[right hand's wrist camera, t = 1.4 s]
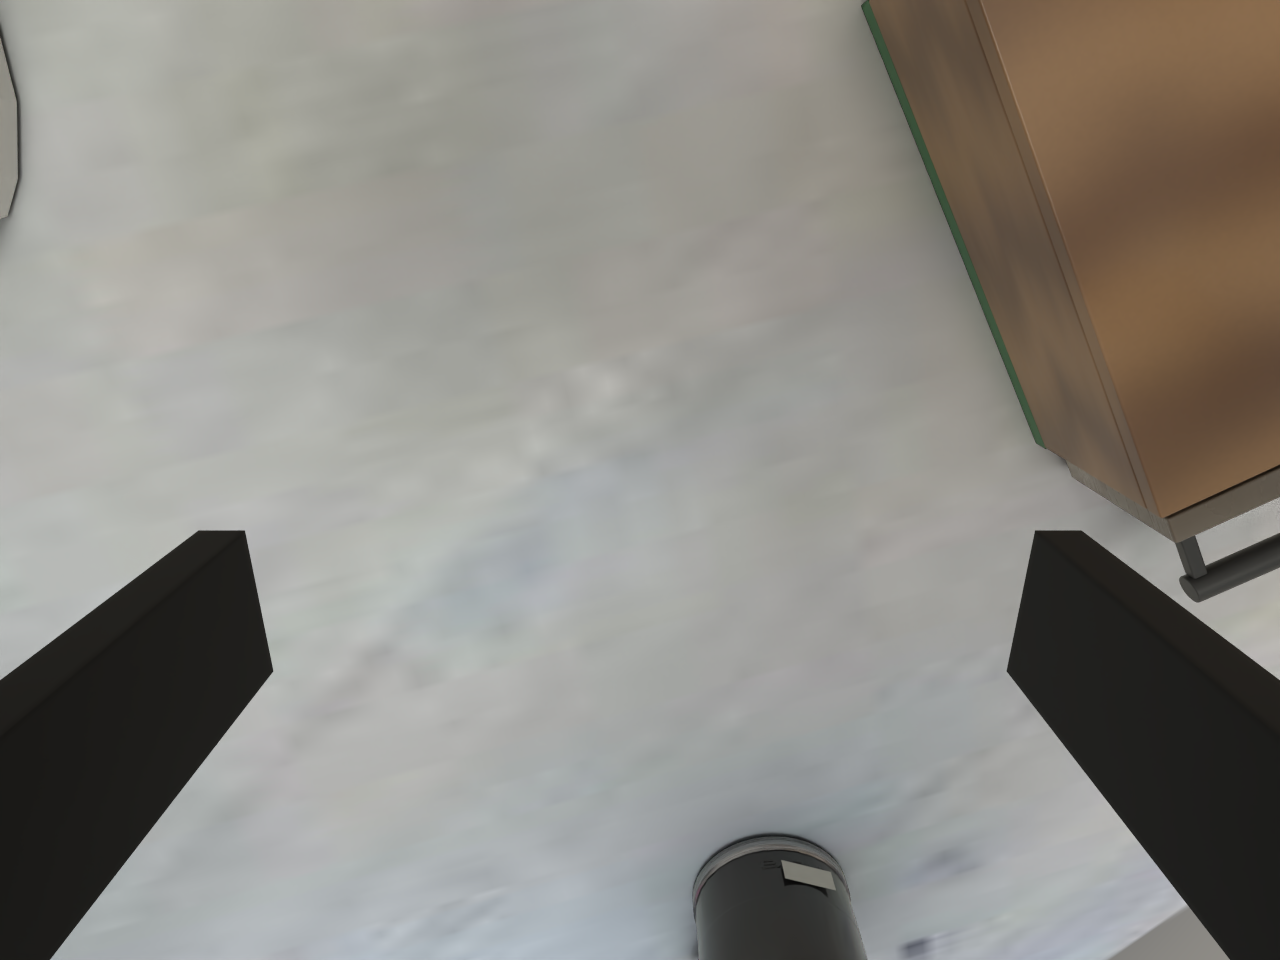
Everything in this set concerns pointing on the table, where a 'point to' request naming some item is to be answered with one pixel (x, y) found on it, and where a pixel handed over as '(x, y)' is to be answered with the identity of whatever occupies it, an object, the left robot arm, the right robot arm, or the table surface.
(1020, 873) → the table surface
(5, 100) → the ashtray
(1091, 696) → the right robot arm
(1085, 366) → the cabinet
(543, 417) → the table surface
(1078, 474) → the drawer
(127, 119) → the table surface
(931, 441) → the table surface
